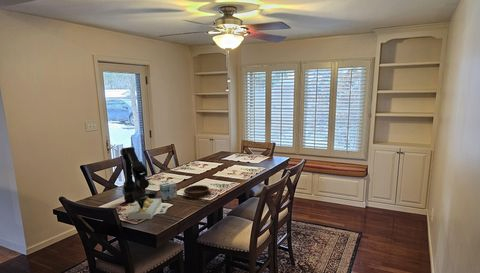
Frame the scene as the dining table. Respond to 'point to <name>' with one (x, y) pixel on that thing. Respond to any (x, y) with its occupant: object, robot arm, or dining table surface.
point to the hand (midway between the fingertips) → (142, 208)
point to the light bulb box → (168, 190)
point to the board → (148, 213)
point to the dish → (197, 191)
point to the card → (162, 210)
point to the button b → (146, 204)
